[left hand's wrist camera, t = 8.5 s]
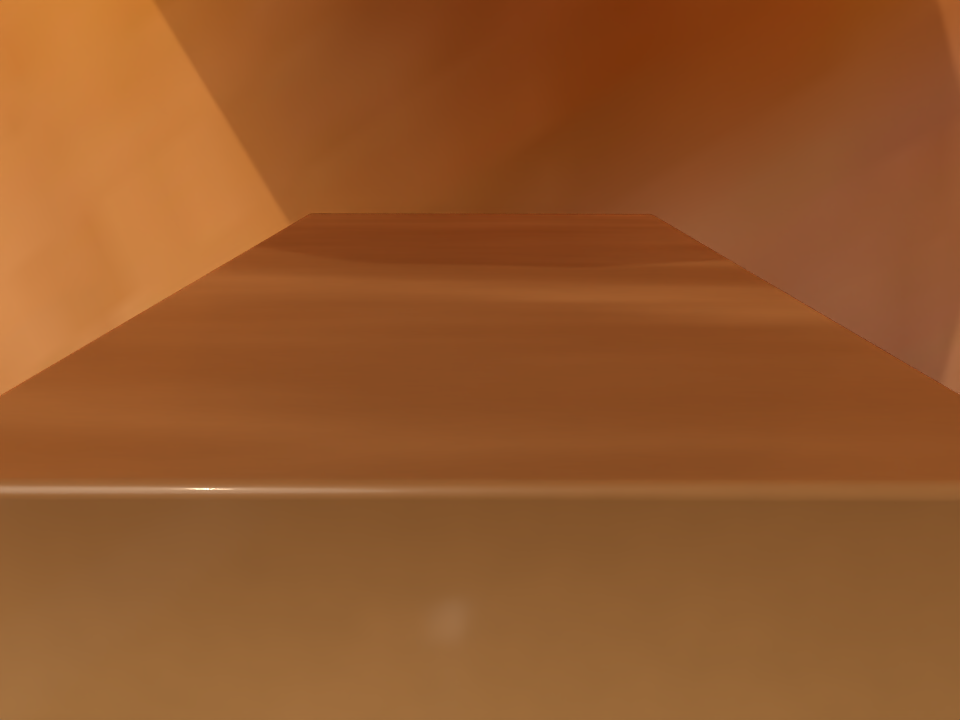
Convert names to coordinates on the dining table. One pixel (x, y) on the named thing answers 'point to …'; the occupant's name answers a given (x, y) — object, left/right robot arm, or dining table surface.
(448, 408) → the box
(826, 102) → the dining table surface
